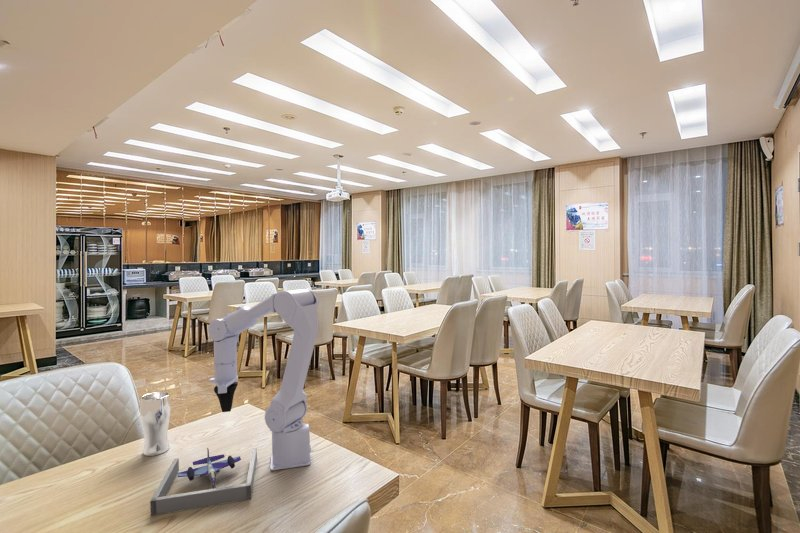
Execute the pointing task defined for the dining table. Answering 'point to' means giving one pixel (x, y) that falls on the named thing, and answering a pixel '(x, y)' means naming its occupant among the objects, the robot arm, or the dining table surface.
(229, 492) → the airplane jig
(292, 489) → the dining table surface
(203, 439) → the dining table surface
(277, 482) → the dining table surface
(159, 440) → the silver metal cup
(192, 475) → the toy airplane
